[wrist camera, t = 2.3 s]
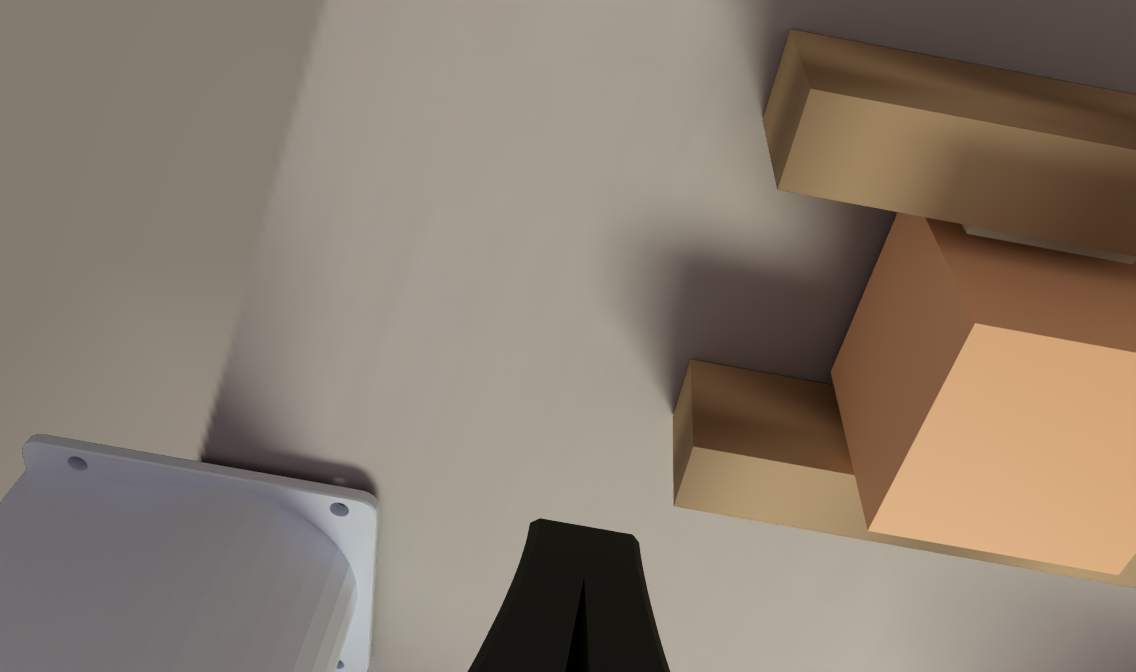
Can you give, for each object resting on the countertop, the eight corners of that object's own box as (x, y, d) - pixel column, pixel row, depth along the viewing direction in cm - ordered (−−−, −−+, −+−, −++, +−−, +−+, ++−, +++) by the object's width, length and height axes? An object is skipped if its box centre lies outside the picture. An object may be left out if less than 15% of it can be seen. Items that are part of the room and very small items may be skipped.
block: (830, 372, 21) (867, 530, 17) (909, 184, 18) (974, 323, 14) (1035, 409, 21) (1118, 575, 17) (1145, 228, 18) (1273, 377, 15)
